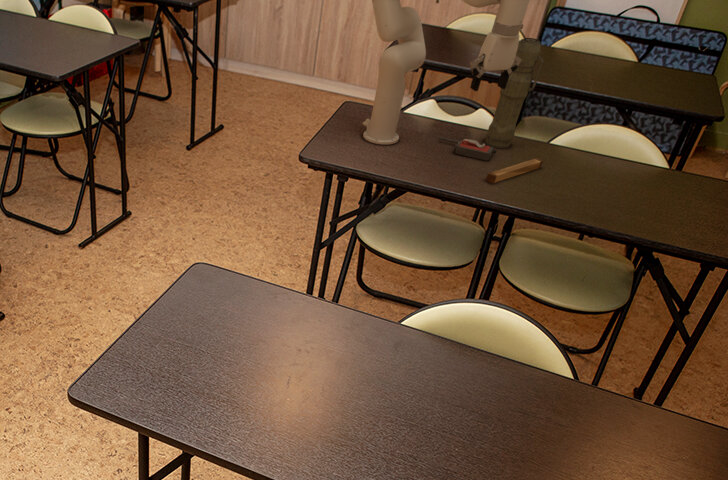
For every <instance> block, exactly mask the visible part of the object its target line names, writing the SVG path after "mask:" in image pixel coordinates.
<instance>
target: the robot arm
mask: <svg viewBox="0 0 728 480" xmlns="http://www.w3.org/2000/svg"><path fill="white" fill-rule="evenodd" d="M461 1H462V2H464V3H465V4H467V5H469V6H470V7H473V8H476V9H481V8H485V7H488V6H492V5H498V8H497V12H496V15H495V18H494V21H493V25H492V28H491V32H488V33H487V35H486V37H485V39H484V41H483V43H482V46H481V48H480V51H479V54H478V56H477V57H476V58H473V59H472V60H470V61H469V68H470V69H469V70H470V73H471V75H472V80H471V83H470V86H469V87H470V89H471V90H472V91H474V92H478V91H479V89H480V85H481V82H482V76H483V75H484V74H485V73H486V72H497V71H498V72H499V71H502V70H503V72H504V73H501V72H500V76H499V79H498V82H497V87H498V88H500V89H501V88H502V89H505V88H506V85H507V82H508V79H509V76H511V75H512V72H513V71H515V70H516V69H517V66H518V65H519V64H520V62H521V61H522V59H521V58H519V57H518V56H516V52H517V48H518V43H519V42H520V31H521V30H522V29H524V24H523V22H524V19H525V16H526V14H527V10H528V6H529V4H530V1H531V0H461ZM371 2H372V8H373V14H374V19H375V24H376V31H377V34H378V37H379V39H380V40H381V41H382V42H385V43H390V42H391V43H392V42H395V41H397V43H398V44H394V45H392V46H390V47H388V48H386V49H385V50H384V51H383V52H382V53H381V55H380V57H379V60H378V75H377V76H378V77H377V85H376V88H375V89H376V90H375V95H374V99H373V106H372V110H371V115H370V118H366V119H365V121H363V122H362V126H364V127H366V130H364V131H363V134H362V137H363V139H364V140H365V141H367V142H369V143H372V144H374V145H375V144H376V145H381V146H384V145H385V146H387V145H394V144H396V143H398V141H399V139H400V136H399V134H398V133H397V129H398V123H399V118H400V114H401V111H402V106H403V101H404V97H405V92H406V79H405V75H406V74H407V73H410V72H413V71H416V70H418V69H420V68H421V67H422V66H423V65H424V63H425V60H426V56H427V49H426V42H425V37H424V30H423V24H422V20H421V17H420V14H419V12H418V11H417V10H416V9H415V8H413V7H412V6H402V4H401V0H371ZM513 62H514V63H513Z"/></svg>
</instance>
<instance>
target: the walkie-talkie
mask: <svg viewBox="0 0 728 480" xmlns="http://www.w3.org/2000/svg"><path fill="white" fill-rule="evenodd" d="M439 141H443V142H449V143H453V144H454V148H453V151H454V154H456V155H458V156H459V155H460V156H464V157H467V158H474V159H476V160H482V161H489V159H490V158H491V157H492V154H493V155H494V154H496V153H497V151H496V149H495V147H491V146H489V145H486V143H482V144H480V143H479V142H478V141H477V140H475V139H470V138H464V139H463V140H462V139H461V140H457V139H452V138H447V137H444V136H440V137H439Z"/></svg>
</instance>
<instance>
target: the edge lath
mask: <svg viewBox="0 0 728 480" xmlns="http://www.w3.org/2000/svg"><path fill="white" fill-rule="evenodd" d="M543 162H544V160H542V159H541V158H538V157H535V158H533V159H530V160H525V161H522V162H520V163H517V164H514V165H510V166H508V167H504V168H502V169H498V170H494V171H492V172H488V173H487V175H486V178H485V182H488V183H490V184H495V183H498V182H501V181H504V180H508V179H511V178H514V177H516V176H520V175H522V174H526V173H529V172H531V171H535V170H538V169H540V168H541V167H542V165H543Z"/></svg>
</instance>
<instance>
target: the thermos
mask: <svg viewBox="0 0 728 480" xmlns="http://www.w3.org/2000/svg"><path fill="white" fill-rule="evenodd" d="M540 52H541V40H539V39H537V38H534V37H524V38H521V39H519V43H518V48H517V52H516V56H518V57H519V58H521V59H522V61H521V62H520V64H519V65H518V66H517V69H516V70H515V71H513V72H512V75H511V76H509V79H508V82H507V85H506V88H505V89H502V88H500V90H499V93H500V95H499V98H498V102H497V105H496V109H495V110H494V111H495V112H494V115H493V118H492V121H491V123H490V124H489V125H488V128H487V132H486V137H485V139H484V144H485V145H486V146H489V147H494V149H508V148H510V147H511V143H512V140H513V139H514V136H515V133H516V131H517V130H516V129H517V128H516V126H517V122H518V119H519V117H520V113H521V111H522V108H523V105H524V101H525V99H526V98H527V97H528V95H529V92H530V91H534V89H535V87H536V85H537V81H538V79H539V76H540V73H541V70H542V67H543V64H544V58H543V56H541V55H540ZM538 61H539V63H540V64H539V66H538V70H537V72H536V75H535V77H534V81H533V73H534V68H535V67H536V64H537V62H538ZM513 63H514V62H513ZM501 73H504V72H503V70H501V72H500V74H501ZM532 83H533V84H532Z"/></svg>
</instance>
